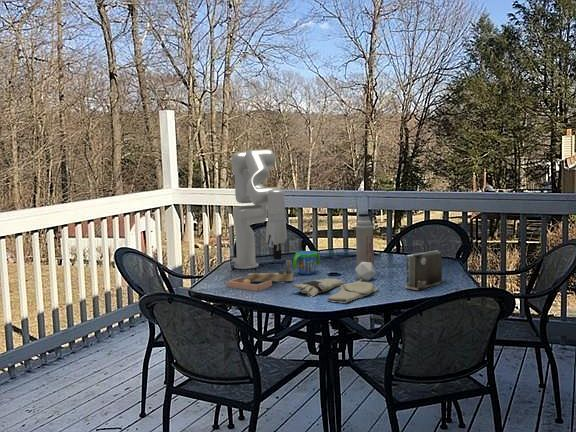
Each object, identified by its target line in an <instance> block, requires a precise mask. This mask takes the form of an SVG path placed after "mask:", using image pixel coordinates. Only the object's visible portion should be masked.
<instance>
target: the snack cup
mask: <svg viewBox="0 0 576 432" xmlns="http://www.w3.org/2000/svg"><path fill="white" fill-rule="evenodd" d="M320 264H321V258H320V254H319V253H318V251H315V250H302V251H301V250H299V251H297V252H295V255H294V257H293V260H292V268H294V269H295V270H296V269H298V273H299V274H301V275H312V274H315V273H316V267H317V266H316V265H320Z"/></svg>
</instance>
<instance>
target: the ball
mask: <svg viewBox="0 0 576 432" xmlns="http://www.w3.org/2000/svg"><path fill="white" fill-rule="evenodd" d="M251 282H252V281H250V280H248V278H245V279H244V281H243V283H248V284H252V283H251Z"/></svg>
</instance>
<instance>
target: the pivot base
mask: <svg viewBox="0 0 576 432" xmlns="http://www.w3.org/2000/svg"><path fill="white" fill-rule="evenodd" d="M274 283H275V284H286V283H289V281H274Z"/></svg>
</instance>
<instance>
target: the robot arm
mask: <svg viewBox="0 0 576 432" xmlns="http://www.w3.org/2000/svg"><path fill="white" fill-rule="evenodd" d="M275 163H276V154H275V153H274V152H273V150H271V149H267V148H266V149H265V148H264V149H251V150H248V151H239V152H235V153H233V154H232V155H231V158H230V164H231V168H232V171H233V175H234V191H235V192H234V194H235V196H234V197H235V201H236V202H237V203H238V204H249V205H240V206H239V205H238V206H236V207H235V208H234V209H233V210H232V218H233V224H234V232H235V246H236V247H235V248H236V249H235V251H236V257H233V258H232V259H231V262H232V263H234V265H233V267H234V268H235V269H238V270H247V269H248V270H250V269H255V268H258V267H259V263H258V262H256V241H255V232H254V230H253V228H252V227H251V226H250V225H253V224H262V223H265V222H266V221H267V222H266V228H265V243H266V244H267V245H268V248H271V249H272V251H273V254H272V255H273V256H272V257H273V260H278V261H279V260H282V250H283V246H284V245H285V244H286V242H287V239H288V234H287V224H286V209H285V207H286V206H285V205H286V203H285V202H286V199H285V191H284V190H283V189H280V187H277V186H273V187H272V186H271V187H265V185H263V184H262V183H263V182H265V181H266V180H267V179H268V178H269V176H270V170H269V168H272V167H273V166H275ZM250 204H251V205H250Z"/></svg>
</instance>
